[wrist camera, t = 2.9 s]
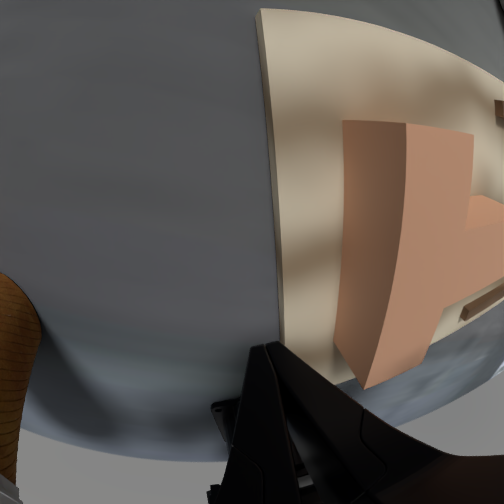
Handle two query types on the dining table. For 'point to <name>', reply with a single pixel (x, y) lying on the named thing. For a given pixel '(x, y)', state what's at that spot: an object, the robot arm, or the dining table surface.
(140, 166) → the dining table surface
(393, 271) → the t block
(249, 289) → the dining table surface
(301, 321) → the board
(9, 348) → the disposable coffee cup
